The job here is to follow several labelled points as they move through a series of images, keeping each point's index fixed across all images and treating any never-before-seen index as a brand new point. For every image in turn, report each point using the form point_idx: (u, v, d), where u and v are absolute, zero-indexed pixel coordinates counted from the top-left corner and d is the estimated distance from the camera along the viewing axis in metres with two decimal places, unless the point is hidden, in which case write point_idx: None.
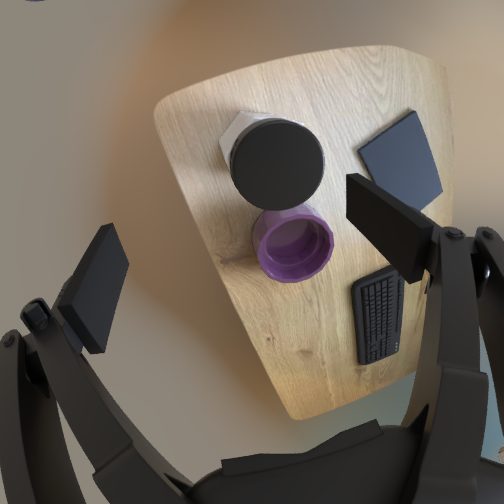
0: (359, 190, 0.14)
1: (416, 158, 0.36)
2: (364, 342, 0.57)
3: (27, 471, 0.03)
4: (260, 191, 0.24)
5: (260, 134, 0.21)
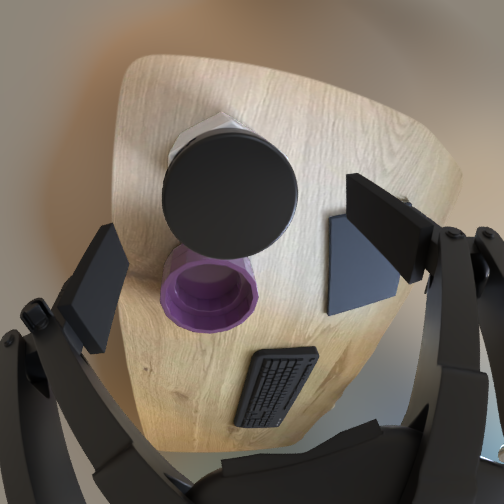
0: (359, 189, 0.14)
1: None
2: (246, 408, 0.51)
3: (27, 471, 0.03)
4: (190, 221, 0.16)
5: (226, 145, 0.14)
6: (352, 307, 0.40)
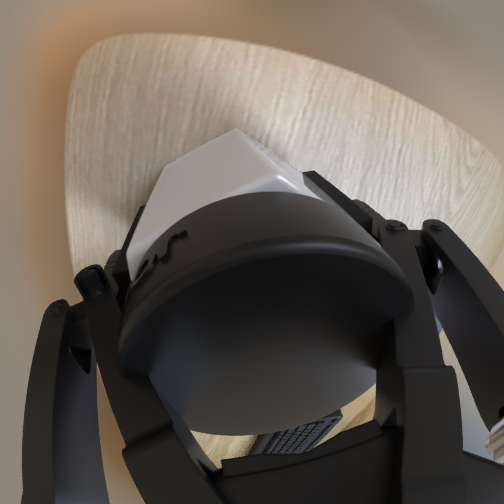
0: None
1: None
2: None
3: (51, 450, 0.04)
4: (189, 407, 0.07)
5: (282, 277, 0.05)
6: None
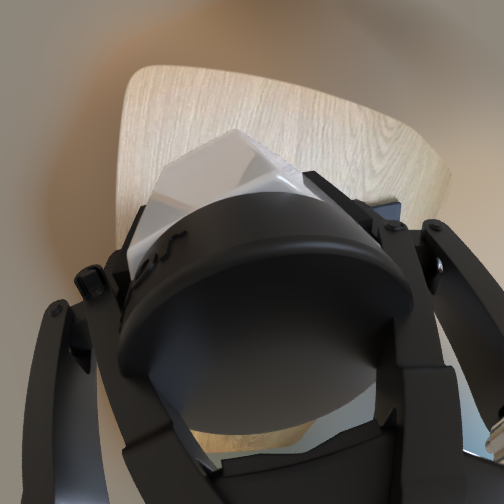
0: None
1: None
2: None
3: (51, 450, 0.04)
4: (189, 406, 0.07)
5: (282, 277, 0.05)
6: None
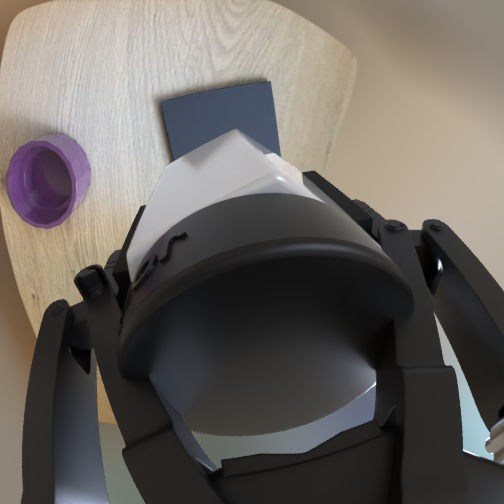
0: None
1: None
2: None
3: (52, 450, 0.04)
4: (189, 408, 0.07)
5: (282, 279, 0.05)
6: None
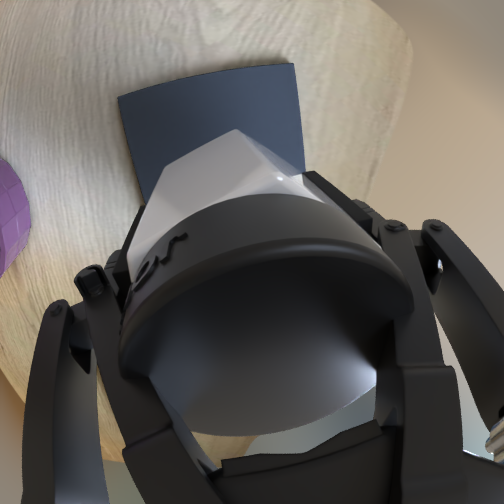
0: None
1: None
2: None
3: (51, 450, 0.04)
4: (189, 408, 0.07)
5: (283, 280, 0.05)
6: None
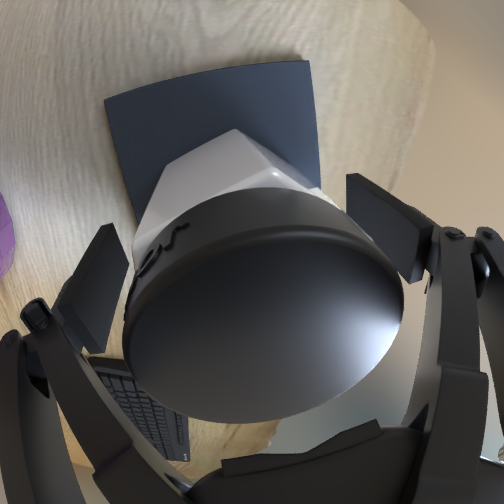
0: (359, 189, 0.14)
1: None
2: None
3: (27, 471, 0.03)
4: (189, 392, 0.07)
5: (276, 263, 0.05)
6: None
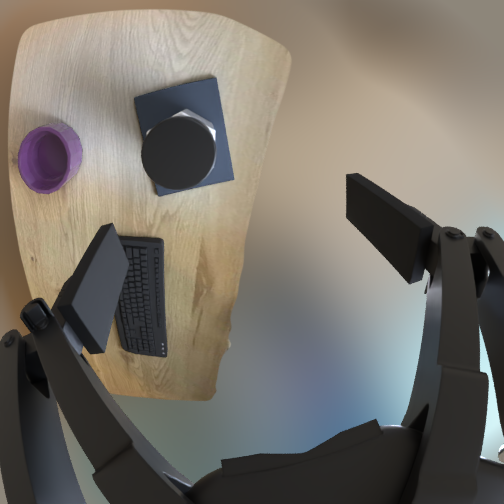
0: (359, 190, 0.14)
1: None
2: (120, 318, 0.52)
3: (27, 471, 0.03)
4: (156, 165, 0.28)
5: (174, 123, 0.26)
6: None
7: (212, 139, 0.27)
